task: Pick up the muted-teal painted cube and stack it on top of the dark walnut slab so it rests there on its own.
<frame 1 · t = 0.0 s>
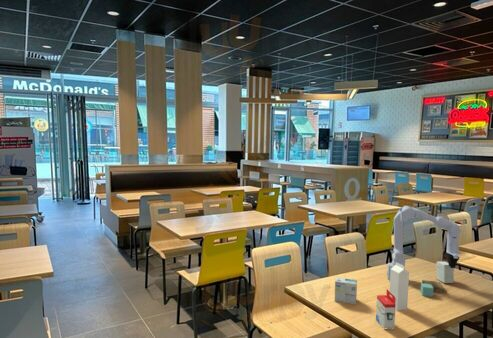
hand: (451, 266, 192), 11 cm above the table, fingers closed
milk: (397, 307, 166), on the table
walnut slab: (432, 289, 188), on the table
ink box: (384, 325, 151), on the table
teal block: (426, 294, 181), on the table
light bulb box: (345, 300, 173), on the table
small box: (444, 281, 198), on the table, touching gripper
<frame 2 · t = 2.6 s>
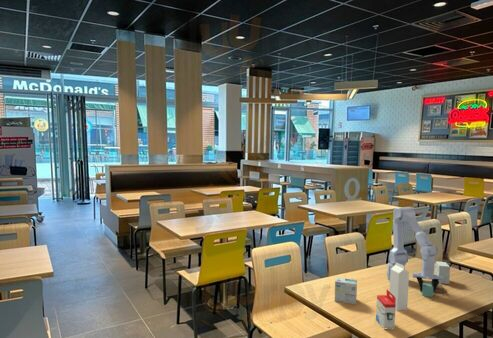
hand: (426, 291, 181), 1 cm above the table, fingers closed on teal block, 5 cm apart
teal block: (426, 294, 181), on the table, touching gripper
small box: (441, 281, 198), on the table
everything else where it was.
when the fingers open (5 cm above the table, at t = 5.3 s): teal block drops 1 cm, point 2 cm above the table.
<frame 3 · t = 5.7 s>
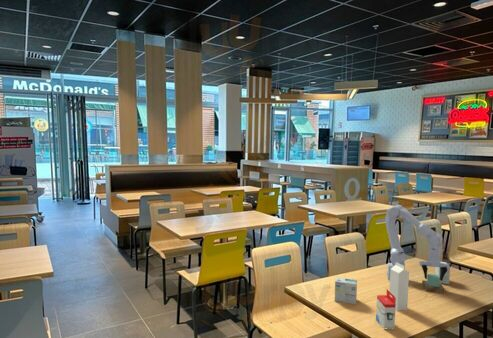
hand: (433, 279, 188), 5 cm above the table, fingers open, 7 cm apart
teal block: (433, 284, 187), point 2 cm above the table
everything else where it was.
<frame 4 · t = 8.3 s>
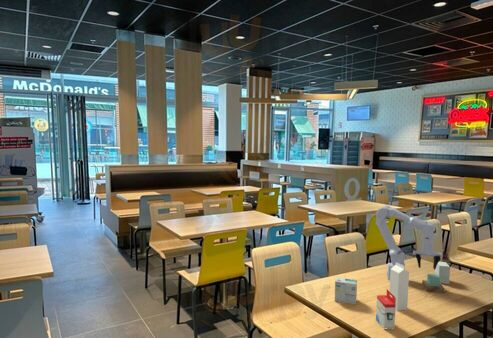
hand: (426, 268, 191), 10 cm above the table, fingers open, 7 cm apart
nothing on the table moved.
at the end: teal block inside the target area on the walnut slab (0.0 cm from its centre), point 3.0 cm above the walnut slab's base; teal block tilted 0°; the gripper is holding nothing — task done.
